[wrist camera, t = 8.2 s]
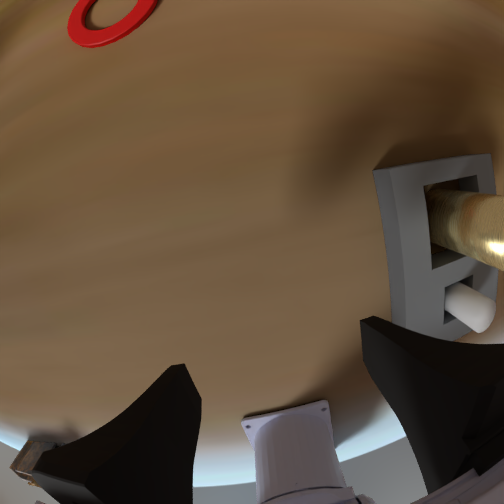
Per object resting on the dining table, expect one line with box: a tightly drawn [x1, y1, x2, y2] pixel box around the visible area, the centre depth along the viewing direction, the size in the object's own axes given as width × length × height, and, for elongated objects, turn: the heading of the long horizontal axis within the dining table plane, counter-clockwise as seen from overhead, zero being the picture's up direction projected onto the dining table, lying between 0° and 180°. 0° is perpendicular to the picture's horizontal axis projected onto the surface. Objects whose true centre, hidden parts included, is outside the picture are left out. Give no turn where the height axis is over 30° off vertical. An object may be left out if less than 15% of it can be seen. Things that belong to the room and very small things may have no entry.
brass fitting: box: [425, 189, 504, 271], centre depth 14 cm, size 4×4×9 cm
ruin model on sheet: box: [10, 441, 65, 488], centre depth 21 cm, size 11×3×10 cm, turn 113°
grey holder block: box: [372, 153, 498, 341], centre depth 17 cm, size 15×11×6 cm
